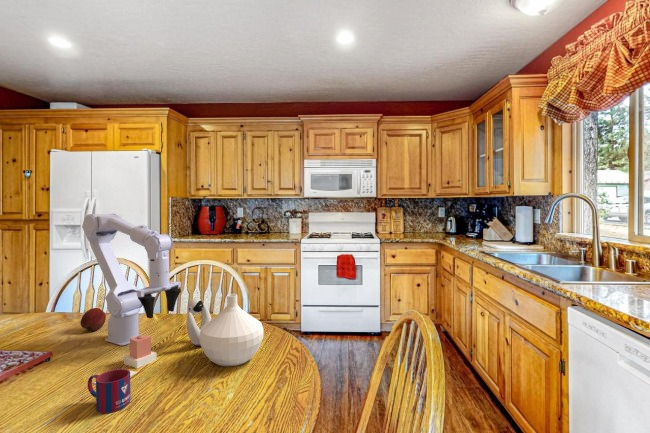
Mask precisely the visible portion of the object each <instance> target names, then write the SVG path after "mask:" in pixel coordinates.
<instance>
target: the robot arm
mask: <svg viewBox="0 0 650 433" xmlns="http://www.w3.org/2000/svg"><path fill="white" fill-rule="evenodd" d="M81 225H82V226H81V228H82V231H83V232H84V234H85V237H86V239H87V241H88V242H89V245H90V247H91V250H92V252H93V255H94V257H95V259H96V261H97V264H98V266H99V268H100V270H101V272H102V275H103V277H104V279H105V281H106V283H107V285H108V289H110V290H109V291H108V293H107V294H106V296H105V298H104V299H105V301H106V306H107V311H108V313H109V314H110V316H109V317H108V320H107V338H105V339H104V341H106V342H110V343H112V344H115V345H118V346H125V345H128V344H129V345H130V338H133V337H136V336H139V335H140V333H139V331H140V330H139V329H140V328H139V312H141V308H143V309H144V312H145V316H146V318H148V319H154V308H155V307H154V306H155V301H156V296H152V295H153V294H157V293H161V292H164V293H165V297H166V307H167V312H175V311H174V310H175V307H176V303H177V300H178V298H179V296H180V293H181V287H182V282H181V281H177V280H176V281H170V280H171V279H170V250H172V249H173V245H174V243H173V242H174V240H173V238H172V236H170V235H169V234H168V233H162V234H160V233H159V232H158V230H152V229H149V228H148V226H147V225H146V224H140V225H134V224H132V223H130V222H129V221H128V220H126V219H123V218H122V216H121V215H119V214H117V213H105V214H104V213H103V214H101V213H100V214H99V213H98V214H93V213H92V214H91V213H90V214H87V215H85V217H84V218H83V221H82V224H81ZM118 232H120V233H122V234H124V235H128V236H129V238H130V240H131V242H134V243H136V244H138V245H139V246H142V247H144V249H145V251H146V253H147V259H148V261H149V262H148V264H149V286H146V287H144V288H141V289H138V287H137V285H134V284H132V283H130V282H128V280H127V278H126V276H125V274H124V272H123V270H122V267H121V265H120V263H119V260H118V258H117V256H116V255H115V252H114V250H113V247H112V245H111V244H110V243H111V241H112V240H114V239H115V236H116V235H117V233H118Z"/></svg>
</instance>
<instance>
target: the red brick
mask: <svg viewBox="0 0 650 433" xmlns="http://www.w3.org/2000/svg"><path fill="white" fill-rule="evenodd" d="M151 351H152V338H151V336H149V335H146V334H145V333H144V334H139V336H136V337H133V338H130V343H129V354H130V356H132V357H134V358H136V359H139V358H142V357H145V356H147V355H150V354H151Z"/></svg>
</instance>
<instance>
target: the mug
mask: <svg viewBox="0 0 650 433" xmlns="http://www.w3.org/2000/svg"><path fill="white" fill-rule="evenodd" d="M130 371H131V370H129V369H127V368H116V369H115V368H114V369H110V370H107V371H104V372H102V373H100V374H92V375H91V376H90V377H89V378H88V380H87V389H88V392H89V393H90V395H91V396H92V397H94V399H95V411H96V412H98V413H100V414H112V413H115V412H118V411H121V410H123V409H125V408H126V407H127V406H128V405H129V404H130V403H131V377H130ZM93 379H95V382H96V384H95V390H94V387H93Z"/></svg>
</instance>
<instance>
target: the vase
mask: <svg viewBox="0 0 650 433" xmlns="http://www.w3.org/2000/svg"><path fill="white" fill-rule="evenodd" d="M226 299H227V300H226V306H225V307H224V308H223V309H222V310H221V311H220V312H219V313H218V314H217V315H216V316H215V317H213V318H211V320H210V321H209V322H208V323H207V324H205V325H204V326H203V327H202V329H201V332H200V345H201V346H200V347H201V350H202V351H203V353H204V355H205V356H206V357H207V358H208V359H209V360H210V361H211V362H213V363H214V364H216V365H217V366H221V367H236V366H240V365H243V364H245V363H246V362H249V360H251V359H253V357H254V356H255V355H256V354H257V352H258V351H259V349H260V346H261V344H262V342H263V339H264V333H265V332H264V327H263V324H262V322H261V321H260V320H258V319H257V318H255V317H254V316H252V315H251V314H249V313H247V312H246V311H245V310H243V309H242V308H241V307H240V306H239V304H238V294H237V293H229V294H227V295H226Z"/></svg>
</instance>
